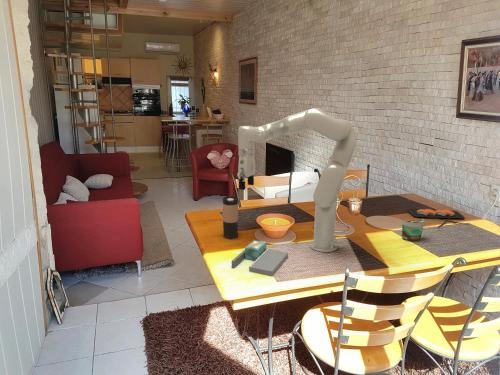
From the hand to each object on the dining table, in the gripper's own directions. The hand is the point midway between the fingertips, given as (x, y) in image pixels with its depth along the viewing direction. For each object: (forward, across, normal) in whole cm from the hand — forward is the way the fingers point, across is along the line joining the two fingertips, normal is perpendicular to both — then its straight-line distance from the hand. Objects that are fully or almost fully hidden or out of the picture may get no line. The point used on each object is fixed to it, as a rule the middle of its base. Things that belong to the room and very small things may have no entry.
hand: (246, 187), depth 184 cm
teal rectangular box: (+26, -18, -13) cm, 34 cm away
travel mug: (+26, -2, +8) cm, 28 cm away
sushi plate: (+27, +73, -89) cm, 118 cm away
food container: (+27, +32, -77) cm, 87 cm away
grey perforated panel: (+26, -23, -18) cm, 39 cm away
